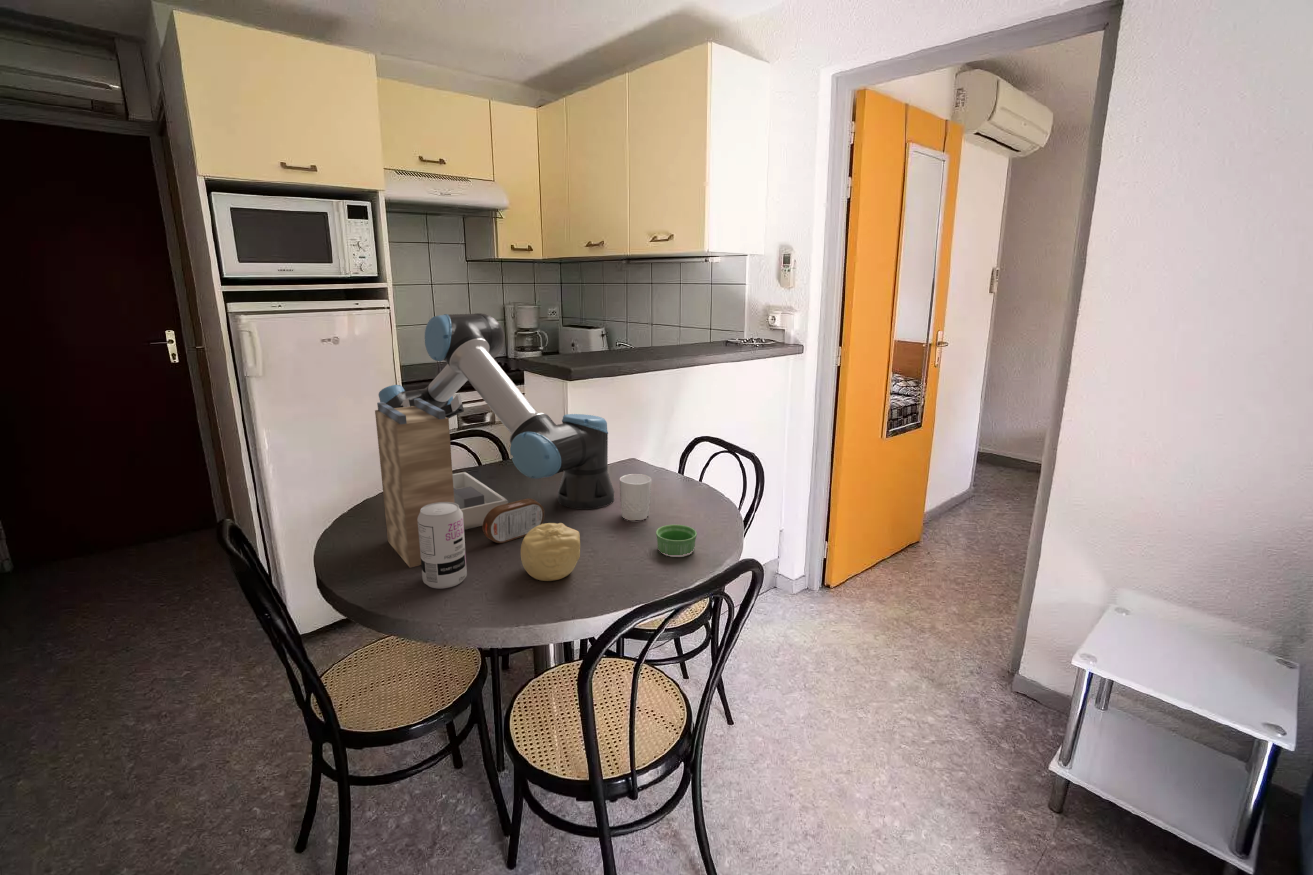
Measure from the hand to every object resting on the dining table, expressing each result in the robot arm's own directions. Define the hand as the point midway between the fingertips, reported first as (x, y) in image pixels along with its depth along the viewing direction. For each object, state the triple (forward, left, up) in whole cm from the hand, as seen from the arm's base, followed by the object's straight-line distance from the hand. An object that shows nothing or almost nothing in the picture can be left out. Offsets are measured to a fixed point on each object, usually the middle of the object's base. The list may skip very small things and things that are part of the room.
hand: (434, 401), depth 163 cm
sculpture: (-43, +42, -26) cm, 65 cm away
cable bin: (-10, +11, -26) cm, 30 cm away
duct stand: (-12, +35, -26) cm, 45 cm away
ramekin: (-67, +27, -26) cm, 77 cm away
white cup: (-55, +9, -26) cm, 62 cm away
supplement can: (-24, +47, -26) cm, 59 cm away
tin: (-30, +26, -26) cm, 47 cm away
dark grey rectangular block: (-10, +10, -25) cm, 28 cm away
